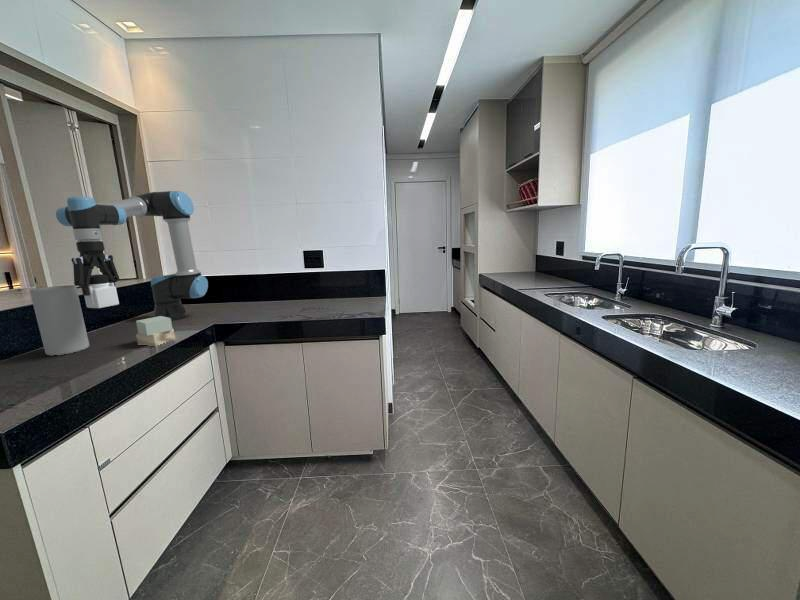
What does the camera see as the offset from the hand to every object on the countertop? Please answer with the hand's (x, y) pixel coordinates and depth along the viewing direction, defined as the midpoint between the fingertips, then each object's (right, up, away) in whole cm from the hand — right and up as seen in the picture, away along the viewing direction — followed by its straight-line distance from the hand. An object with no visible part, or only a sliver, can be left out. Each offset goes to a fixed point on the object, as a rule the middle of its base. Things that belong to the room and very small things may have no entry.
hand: (102, 301), depth 130 cm
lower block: (+14, -17, +10) cm, 24 cm away
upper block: (+13, -12, +9) cm, 20 cm away
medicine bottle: (0, -2, 0) cm, 2 cm away
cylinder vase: (-17, -20, +4) cm, 26 cm away
